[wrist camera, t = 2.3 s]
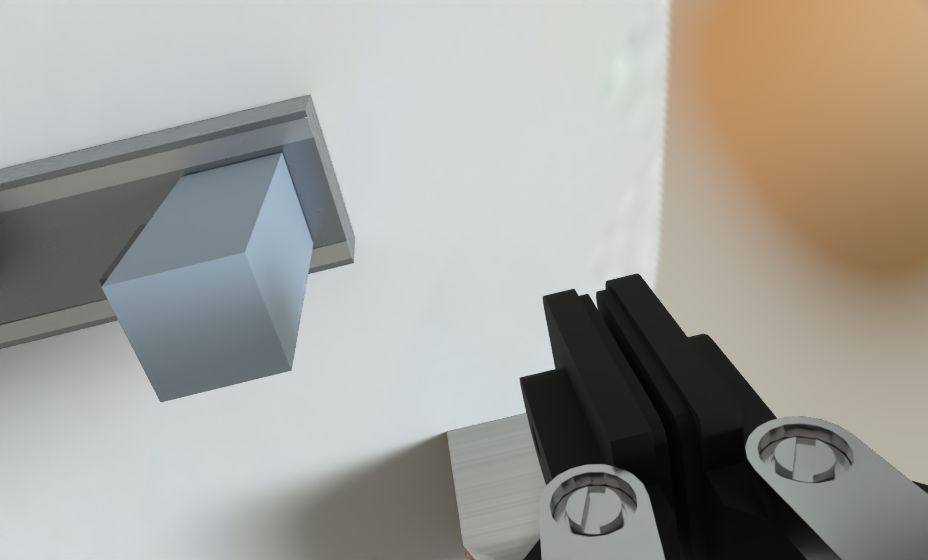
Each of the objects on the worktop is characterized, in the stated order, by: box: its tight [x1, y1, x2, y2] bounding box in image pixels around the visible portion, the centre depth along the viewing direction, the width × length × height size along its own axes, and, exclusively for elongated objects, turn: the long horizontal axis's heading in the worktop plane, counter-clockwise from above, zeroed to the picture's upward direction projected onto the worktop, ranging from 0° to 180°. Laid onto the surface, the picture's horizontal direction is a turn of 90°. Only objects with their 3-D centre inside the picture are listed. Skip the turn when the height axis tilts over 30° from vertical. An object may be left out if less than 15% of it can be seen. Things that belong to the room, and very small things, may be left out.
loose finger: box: [99, 153, 313, 402], centre depth 18 cm, size 3×4×7 cm
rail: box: [0, 95, 355, 349], centre depth 19 cm, size 5×17×9 cm, turn 102°
